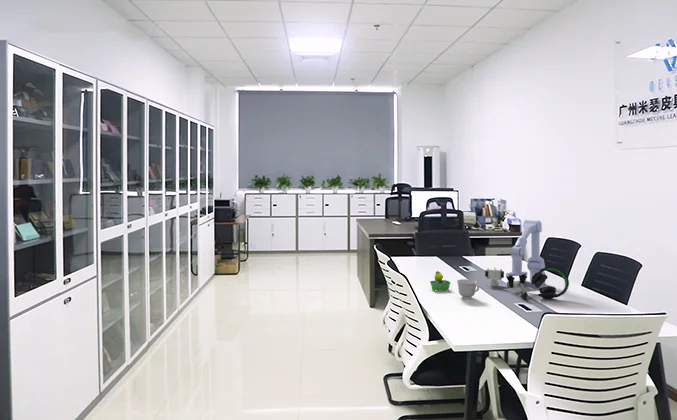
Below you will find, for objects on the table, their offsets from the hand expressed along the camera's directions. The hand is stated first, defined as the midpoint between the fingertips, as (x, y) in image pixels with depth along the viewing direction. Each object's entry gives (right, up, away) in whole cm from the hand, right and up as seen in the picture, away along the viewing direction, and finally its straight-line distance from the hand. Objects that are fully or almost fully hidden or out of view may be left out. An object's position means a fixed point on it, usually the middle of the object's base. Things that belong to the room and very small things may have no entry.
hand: (516, 287), depth 302 cm
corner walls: (+7, -2, +7) cm, 10 cm away
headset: (+9, -4, -19) cm, 21 cm away
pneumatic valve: (-9, -2, +16) cm, 18 cm away
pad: (+6, -2, +5) cm, 9 cm away
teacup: (-34, -4, -17) cm, 38 cm away
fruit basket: (-47, -3, +7) cm, 47 cm away
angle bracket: (-2, -3, 0) cm, 4 cm away
